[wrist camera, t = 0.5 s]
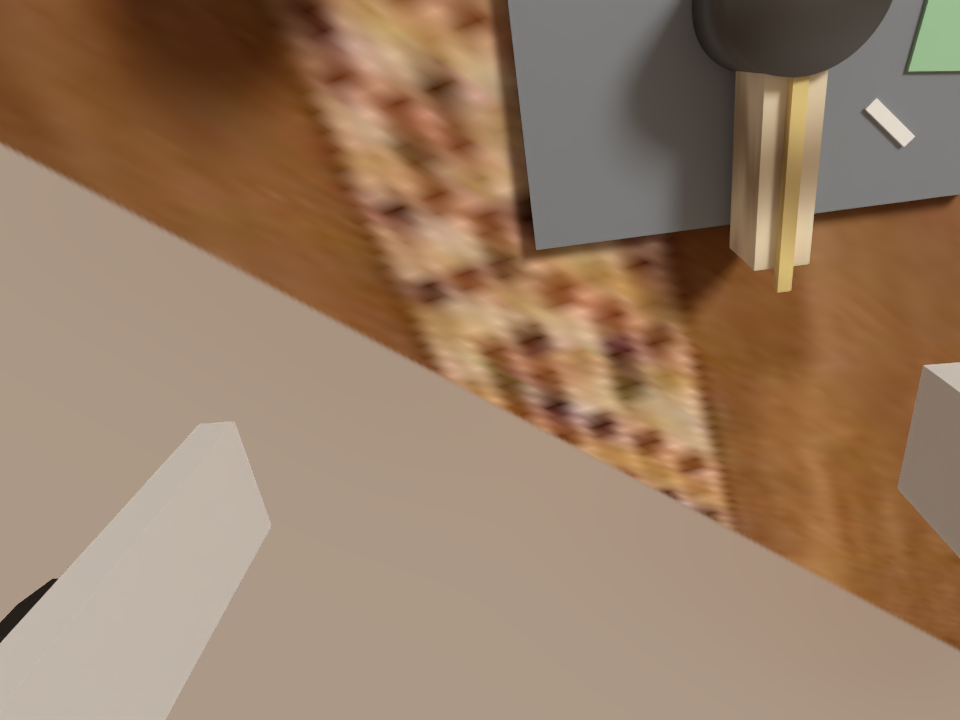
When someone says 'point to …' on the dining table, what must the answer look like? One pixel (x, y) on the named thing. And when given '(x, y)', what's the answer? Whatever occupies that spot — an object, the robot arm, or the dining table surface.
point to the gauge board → (714, 117)
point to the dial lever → (779, 112)
